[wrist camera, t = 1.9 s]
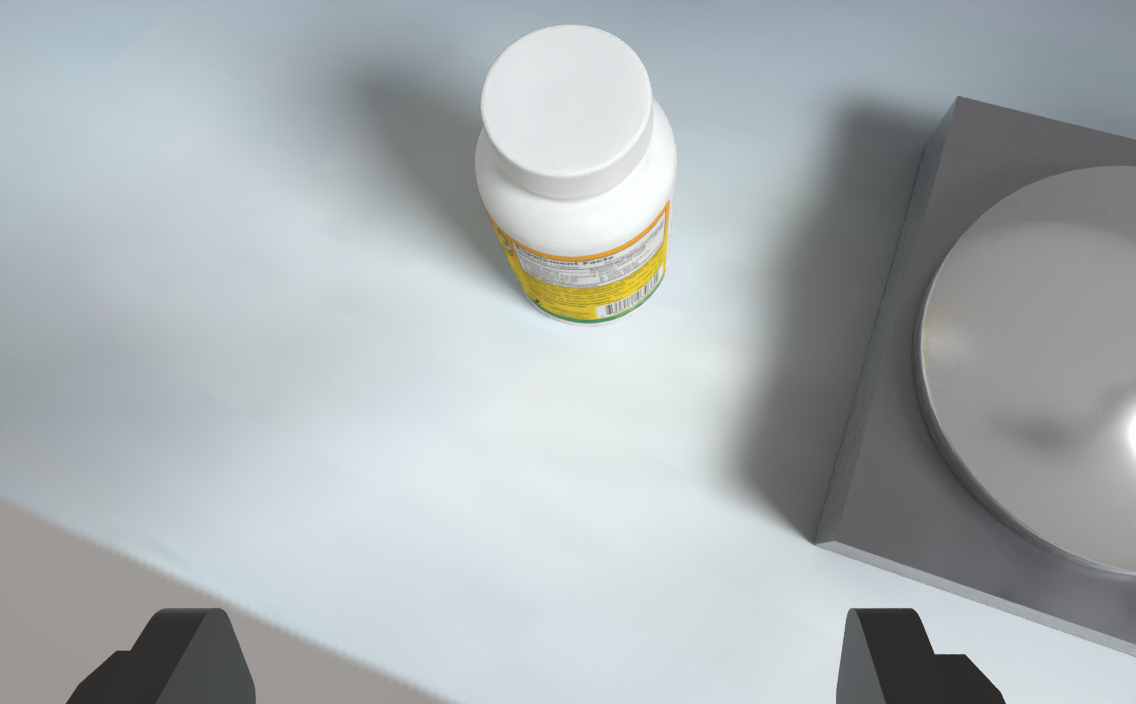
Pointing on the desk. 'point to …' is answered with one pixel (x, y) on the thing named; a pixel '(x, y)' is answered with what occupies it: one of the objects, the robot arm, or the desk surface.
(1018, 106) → the desk surface
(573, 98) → the supplement bottle
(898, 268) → the scale
